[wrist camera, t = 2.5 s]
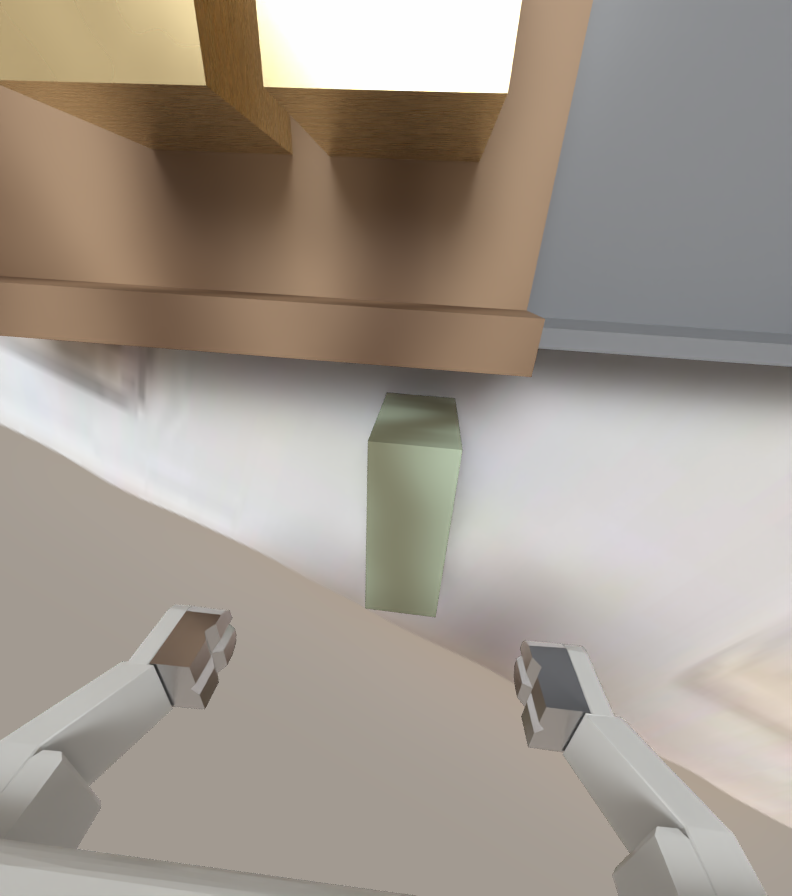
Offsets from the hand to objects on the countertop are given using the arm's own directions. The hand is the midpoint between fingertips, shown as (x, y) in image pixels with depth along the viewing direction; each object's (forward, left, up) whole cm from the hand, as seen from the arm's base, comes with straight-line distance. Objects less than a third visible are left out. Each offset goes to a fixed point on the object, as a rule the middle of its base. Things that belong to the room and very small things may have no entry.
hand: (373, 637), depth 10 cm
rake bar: (-1, 0, -9) cm, 9 cm away
